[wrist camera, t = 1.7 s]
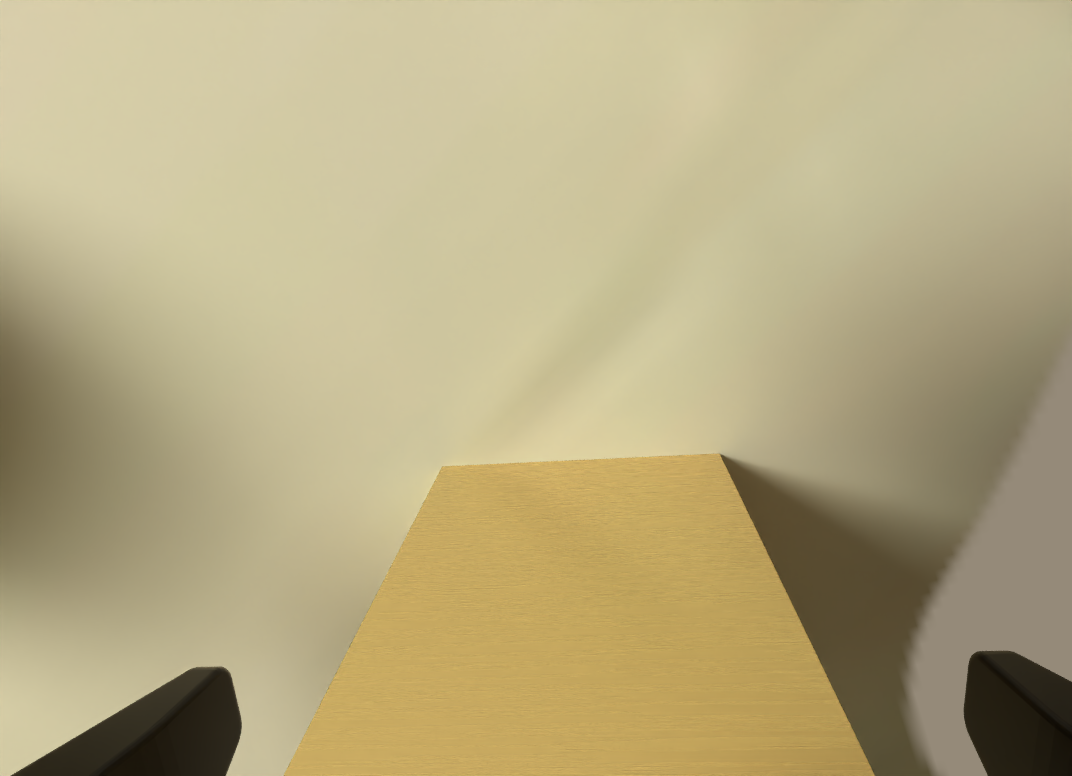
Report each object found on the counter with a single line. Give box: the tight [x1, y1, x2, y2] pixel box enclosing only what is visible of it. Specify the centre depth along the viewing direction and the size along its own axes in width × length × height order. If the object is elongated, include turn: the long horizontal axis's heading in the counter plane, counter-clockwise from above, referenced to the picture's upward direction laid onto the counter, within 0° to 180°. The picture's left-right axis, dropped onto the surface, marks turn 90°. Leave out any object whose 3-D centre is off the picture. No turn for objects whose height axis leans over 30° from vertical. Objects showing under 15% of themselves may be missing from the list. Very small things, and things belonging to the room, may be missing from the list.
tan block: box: [284, 454, 875, 776], centre depth 8 cm, size 4×4×6 cm
